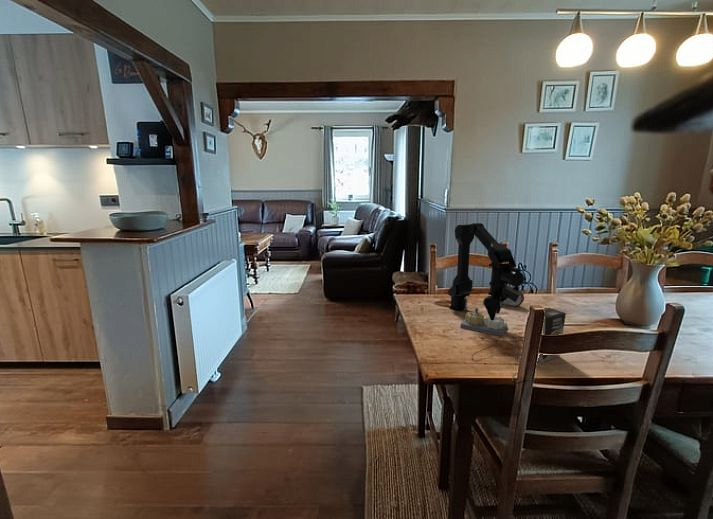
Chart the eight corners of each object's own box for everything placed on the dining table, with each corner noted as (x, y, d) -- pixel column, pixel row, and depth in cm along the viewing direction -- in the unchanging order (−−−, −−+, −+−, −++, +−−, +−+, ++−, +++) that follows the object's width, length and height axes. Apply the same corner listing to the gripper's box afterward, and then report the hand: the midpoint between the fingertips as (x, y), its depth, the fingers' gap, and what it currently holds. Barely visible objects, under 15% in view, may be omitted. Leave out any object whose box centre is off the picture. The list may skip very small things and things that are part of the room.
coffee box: (543, 362, 124) (549, 317, 120) (526, 354, 129) (531, 311, 126) (560, 356, 128) (566, 312, 124) (544, 349, 133) (549, 306, 130)
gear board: (460, 327, 152) (461, 312, 151) (468, 318, 161) (469, 304, 160) (501, 336, 144) (502, 320, 142) (506, 326, 153) (508, 312, 151)
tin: (523, 306, 177) (525, 289, 175) (522, 308, 174) (524, 291, 172) (490, 300, 185) (492, 284, 183) (489, 302, 182) (490, 286, 180)
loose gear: (501, 330, 145) (501, 323, 145) (483, 326, 149) (483, 319, 149) (505, 324, 151) (505, 317, 151) (487, 321, 155) (488, 314, 154)
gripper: (515, 289, 134) (511, 329, 137) (524, 277, 149) (520, 313, 153) (484, 284, 140) (481, 322, 143) (495, 273, 155) (492, 308, 159)
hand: (495, 316), depth 149 cm, fingers open, 9 cm apart
